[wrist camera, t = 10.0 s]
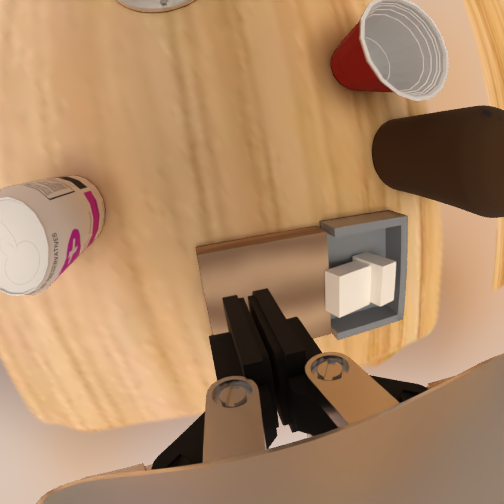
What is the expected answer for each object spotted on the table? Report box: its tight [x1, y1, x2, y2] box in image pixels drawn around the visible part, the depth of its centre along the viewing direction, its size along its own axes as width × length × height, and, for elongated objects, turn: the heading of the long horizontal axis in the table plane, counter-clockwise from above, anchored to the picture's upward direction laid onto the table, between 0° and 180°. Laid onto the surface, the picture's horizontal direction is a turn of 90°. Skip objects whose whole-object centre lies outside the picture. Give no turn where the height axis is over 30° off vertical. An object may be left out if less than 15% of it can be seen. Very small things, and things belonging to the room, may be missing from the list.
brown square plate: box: [196, 226, 331, 339], centre depth 37 cm, size 13×14×3 cm
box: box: [320, 210, 408, 340], centre depth 38 cm, size 14×10×4 cm
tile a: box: [325, 260, 371, 318], centre depth 36 cm, size 5×5×2 cm
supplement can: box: [0, 175, 105, 295], centre depth 24 cm, size 8×8×15 cm
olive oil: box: [372, 106, 504, 218], centre depth 25 cm, size 11×11×25 cm
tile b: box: [353, 252, 396, 307], centre depth 37 cm, size 5×5×2 cm
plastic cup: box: [331, 0, 448, 101], centre depth 27 cm, size 11×11×12 cm
